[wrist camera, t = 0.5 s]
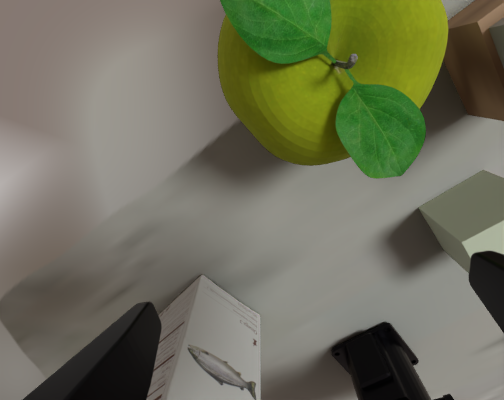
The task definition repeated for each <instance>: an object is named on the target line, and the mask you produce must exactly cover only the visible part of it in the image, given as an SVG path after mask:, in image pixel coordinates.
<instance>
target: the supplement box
mask: <svg viewBox="0 0 504 400" xmlns="http://www.w3.org/2000/svg"><path fill="white" fill-rule="evenodd" d="M158 316H159V318H160V320H161V324H162V329H161V335H160V340H159V345H158V351H157V356H156V361H155V366H154V371H153V376H152V381H151V385H150V388H149V392H148V396H147V399H146V400H261V348H260V345H261V335H260V315H259V314H258V313H256V312H254V311H253V310H251V309H250V308H248V307H247V306H245V305H244V304H242V303H241V302H239V301H238V300H236V299H235V298H234V297H232V296H231V295H230V294H228V293H227V292H225V291H224V290H223V289H221V288H220V287H218V286H217V285H216V284H214V283H213V282H212V281H211V280H209V279H208V278H207V277H205V276H204V275H201V276H200V277H199V278H197V279H196V280H195V281H194V282H193V283H192V284H191V285H190V286H189V287H188V288H187V289H186V290H185V291H184V292H183V293H181V294H180V295H179V296H178V297H177V298H176V299H175V300H174V301H173V302H172V303H171V304H170V305H169V306H168V307H166V308H165V310H163V311H162V312H161V313H160V314H159V315H158Z"/></svg>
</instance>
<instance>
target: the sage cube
mask: <svg viewBox="0 0 504 400" xmlns="http://www.w3.org/2000/svg"><path fill="white" fill-rule="evenodd" d="M418 208H419V210H420V211H421V213H422V215H423V216H424V218H425V220H426V221H427V223H428V225H429V226H430V228H431V230H432V231H433V233H434V235H435V236H436V238H437V240H438V241H439V243H440V245H441V246H442V248H443V250H444V251H445V252H446V253H447V254H448V255H449V256H450V257H452V258H453V259H454V260H455V261H456V262H457V263H458V264H459V265H460V266H461V267H462V268H463V269H465V270H466V271H467V272H468V273H469V269H470V260H471V256H472V254H473V253H476V252H482V251H495V252H498V253H501V254H504V178H502V177H500V176H497V175H495V174H492V173H490V172H487V171H485V170H482V171H480V172H479V173H477V174H475V175H473V176H472V177H470V178H468V179H466V180H465V181H463V182H461V183H460V184H458V185H456V186H454V187H453V188H451V189H449V190H448V191H446V192H444V193H442V194H441V195H439V196H437V197H436V198H434V199H432V200H430V201H429V202H427V203H425V204H423V205H422V206H420V207H418Z"/></svg>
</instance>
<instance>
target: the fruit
mask: <svg viewBox="0 0 504 400" xmlns="http://www.w3.org/2000/svg"><path fill="white" fill-rule="evenodd" d="M220 1H221V4H222V6H223V8H224V11H225V13H226V16H225V18H224V20H223V24H222V27H221V31H220V36H219V42H218V71H219V78H220V83H221V87H222V90H223V93H224V96H225V98H226V100H227V102H228V104H229V106H230V108H231V109H232V110H233V112H234V113H235V114H236V116H237V117H238V118H239V119H240V120H241V122H242V123H243V124H244V125H245V126H246V127H247V128H248V130H249V131H250V132H251V133H252V134H253V135H254V137H255V138H256V139H257V140H258V141H259V142H260V143H261V144H262V145H263V146H264V147H265V148H266V149H267V150H268V151H269V152H270V153H272V154H273V155H275V156H276V157H278V158H280V159H282V160H285V161H288V162H291V163H294V164H299V165H310V166H312V165H322V164H328V163H332V162H336V161H340V160H343V159H346V158H349V157H351V158H352V159H353V160H354V162H355V163H356V164H357V166H358V167H359V168H360V169H361V171H362V172H363V173H364V174H366V175H367V176H369V177H371V178H388V177H395V176H401V175H403V174H404V172H405V171H406V170H407V169H408V168H409V166H410V165H411V164H412V163H413V161H414V160H415V159H416V157H417V155H418V154H419V152H420V150H421V148H422V146H423V143H424V140H425V134H426V126H425V121H424V117H423V115H422V113H421V111H420V108H421V106H422V105H423V103H424V102H425V100H426V98H427V96H428V95H429V93H430V91H431V89H432V87H433V85H434V82H435V80H436V78H437V75H438V73H439V70H440V68H441V65H442V61H443V58H444V55H445V50H446V46H447V39H448V19H447V15H446V12H445V8H444V6H443V4H442V2H441V0H220Z"/></svg>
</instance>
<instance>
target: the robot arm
mask: <svg viewBox="0 0 504 400" xmlns="http://www.w3.org/2000/svg"><path fill="white" fill-rule="evenodd" d="M469 282H470V285H471V287H472V288H473V290H474V291H475V293H476V294H477V295H478V297H479V298H480V300H481V301H482V303H483V304H484V305H485V307H486V308H487V310H488V311H489V313H490V314H491V315H492V317H493V318H494V320H495V321H496V323H497V324H498V325H499V327H500V328H501V330H502V331H503V333H504V254H501V253H498V252H495V251H482V252H476V253H473V254H472V256H471V260H470V269H469ZM161 329H162V324H161V320H160V318H159V316H158V314H157V311H156V309H155V307H154V305H153V303H151V302H143V303H138V304H136V305H135V306H133V307H132V308H131V309H130V310H129V311H128V312H126V313H125V314H124V315H123V316H122V317H120V318H119V319H118V320H117V321H116V322H114V323H113V324H112V325H111V326H110V327H108V328H107V329H106V330H105V331H104V332H102V333H101V334H100V335H99V336H98V337H97V338H95V339H94V340H93V341H92V342H91V343H89V344H88V345H87V346H86V347H85V348H83V349H82V350H81V351H80V352H79V353H77V354H76V355H75V356H74V357H73V358H72V359H70V360H69V361H68V362H67V363H66V364H64V365H63V366H62V367H61V368H60V369H58V370H57V371H56V372H55V373H54V374H52V375H51V376H50V377H49V378H48V379H47V380H45V381H44V382H43V383H42V384H41V385H39V386H38V387H37V388H36V389H35V390H34V391H32V392H31V393H30V394H29V395H27V396H26V397H25V398H24V399H23V400H146V399H147V396H148V392H149V388H150V385H151V381H152V376H153V371H154V366H155V361H156V356H157V351H158V345H159V340H160V335H161ZM331 353H332V356H333V357H334V358H335V359H336V360H337V361H338V362H339V363H340V364H341V365H342V366H343V367H344V368H345V370H346V371H347V372H348V373H349V374H350V375H351V378H352V381H353V385H354V388H355V391H356V394H357V397H358V400H431V398H430V396H429V394H428V393H427V391H426V389H425V387H424V385H423V383H422V382H421V380H420V378H419V376H418V374H417V372H416V370H415V369H414V367H413V365H416V364H417V363H418V359H417V357H416V355H415V354H414V353H413V352H412V350H411V349H410V348H409V347H408V345H407V344H406V343H405V341H404V340H403V339H402V338H401V336H400V335H399V334H398V333H397V331H396V330H395V329H394V327H393V326H392V325H391V324H390V323H384V324H382V325H380V326H378V327H376V328H374V329H372V330H369V331H367V332H365V333H363V334H361V335H359V336H357V337H355V338H353V339H351V340H349V341H347V342H344V343H342V344H340V345H338V346H336V347H334V348H332V350H331ZM434 400H454V399H453V397H452V396H451V395H450V394H447V395H443V397H442V398H438V399H434Z"/></svg>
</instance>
